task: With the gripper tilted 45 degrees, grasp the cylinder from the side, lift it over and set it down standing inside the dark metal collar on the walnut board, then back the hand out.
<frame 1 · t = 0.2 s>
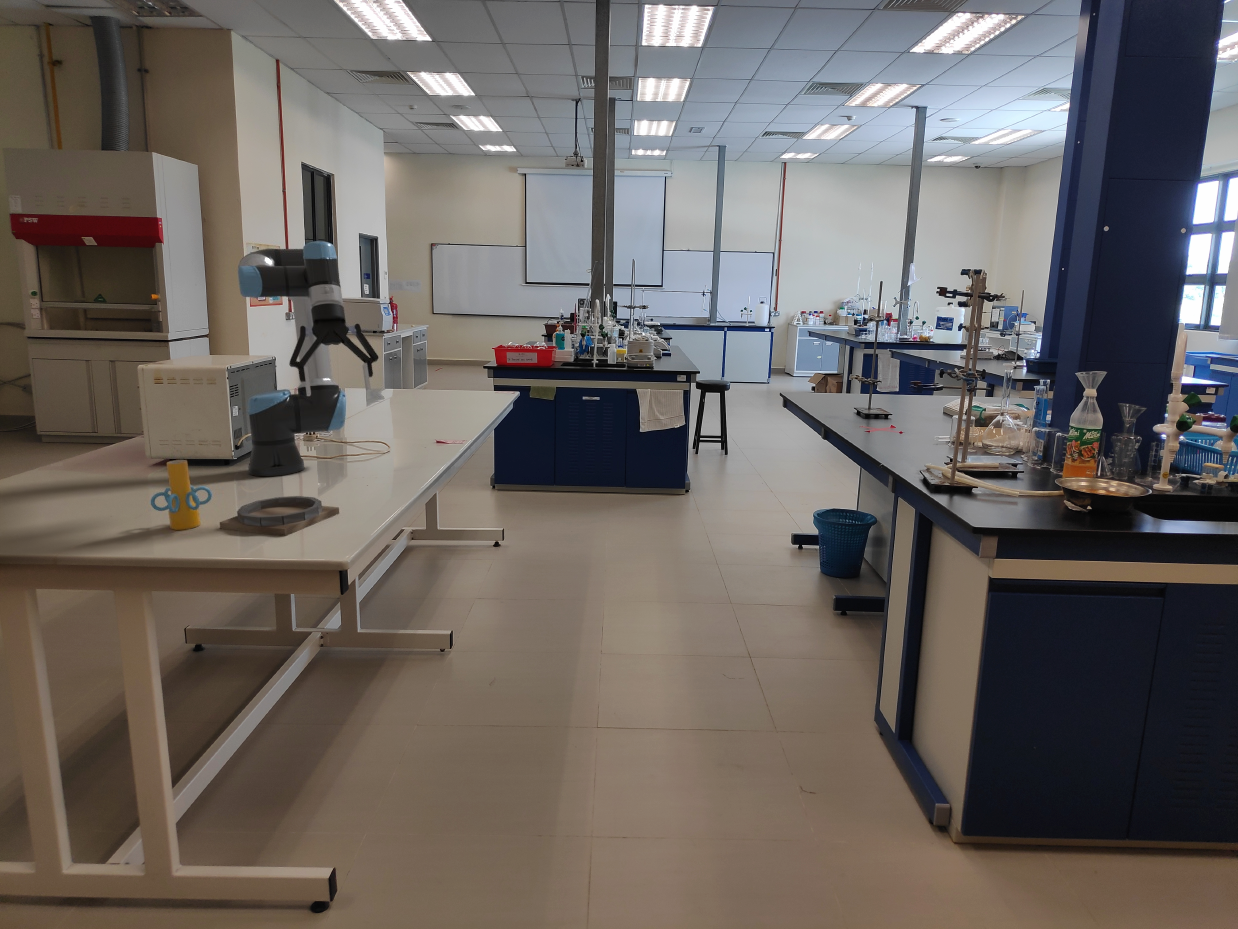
hand: (339, 392, 188), 28 cm above the table, tool tilted 20°, fingers open, 13 cm apart
cylinder: (185, 527, 178), on the table
hub board: (281, 520, 181), on the table
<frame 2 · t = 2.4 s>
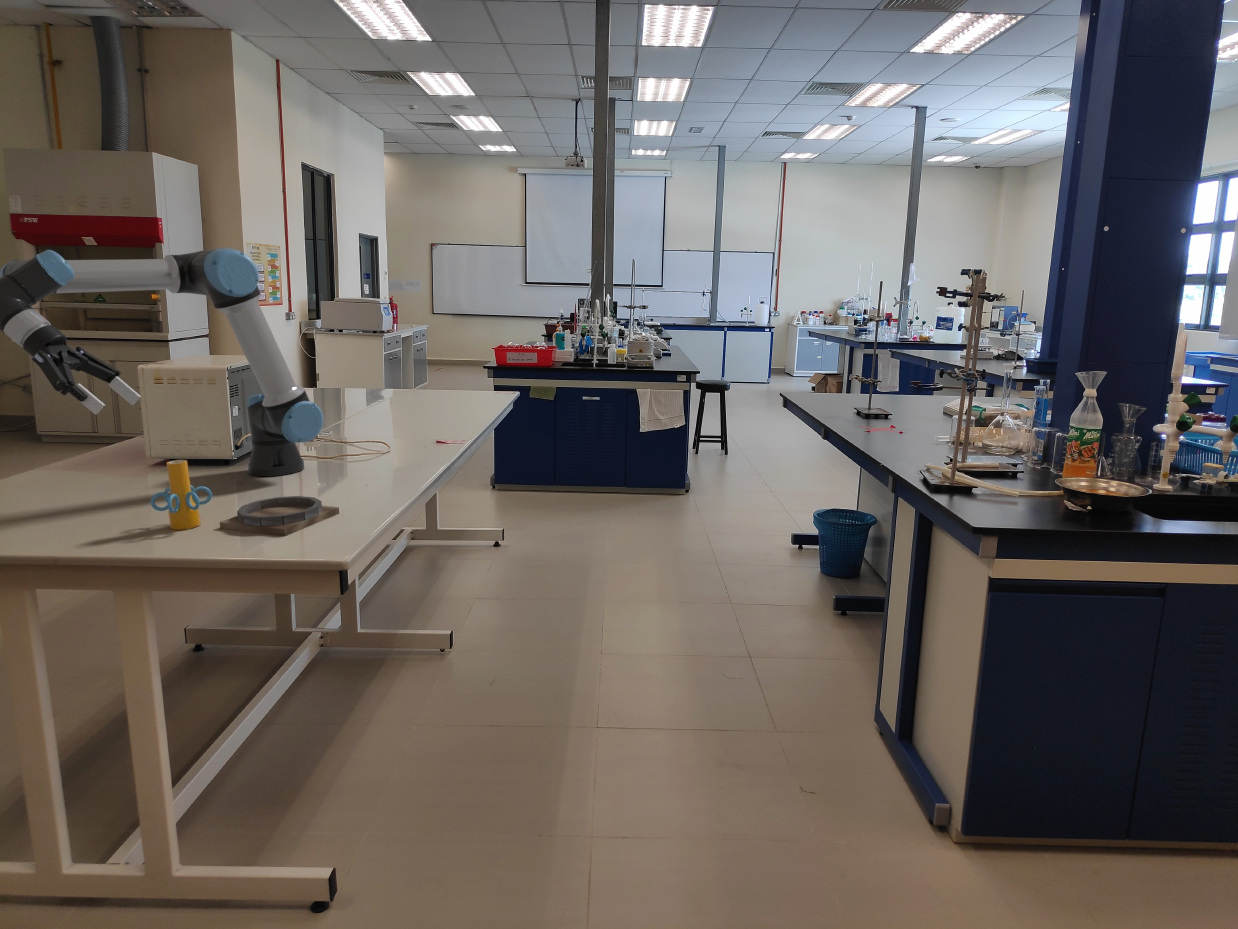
hand: (119, 405, 171), 28 cm above the table, tool tilted 45°, fingers open, 13 cm apart
nothing on the table moved.
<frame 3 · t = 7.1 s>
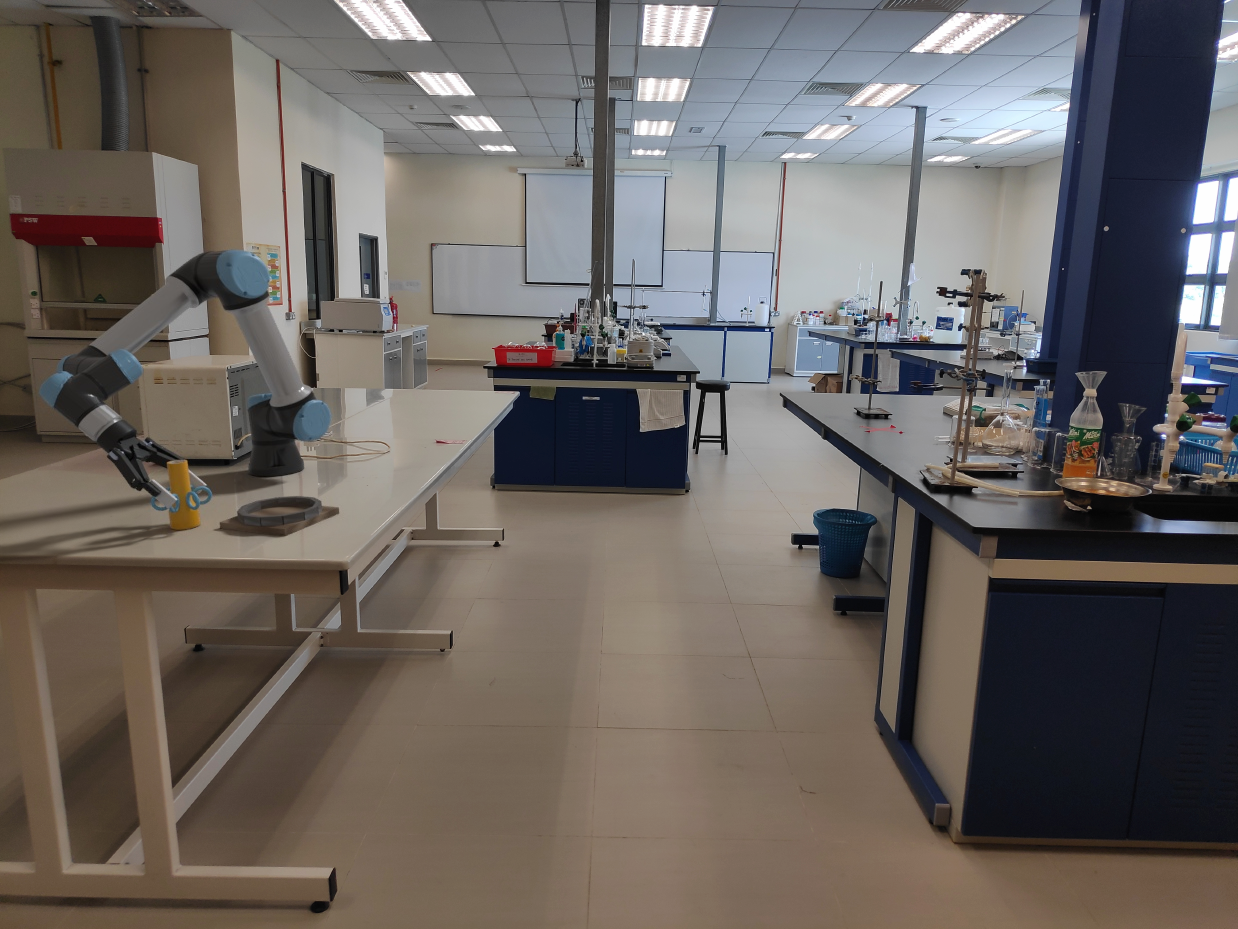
hand: (188, 496, 176), 7 cm above the table, tool tilted 45°, fingers closed on cylinder, 12 cm apart
cylinder: (185, 527, 178), on the table, touching gripper
when the fingers open (10 cm above the table, at t = 13.3 s): cylinder drops 1 cm, resting on hub board.
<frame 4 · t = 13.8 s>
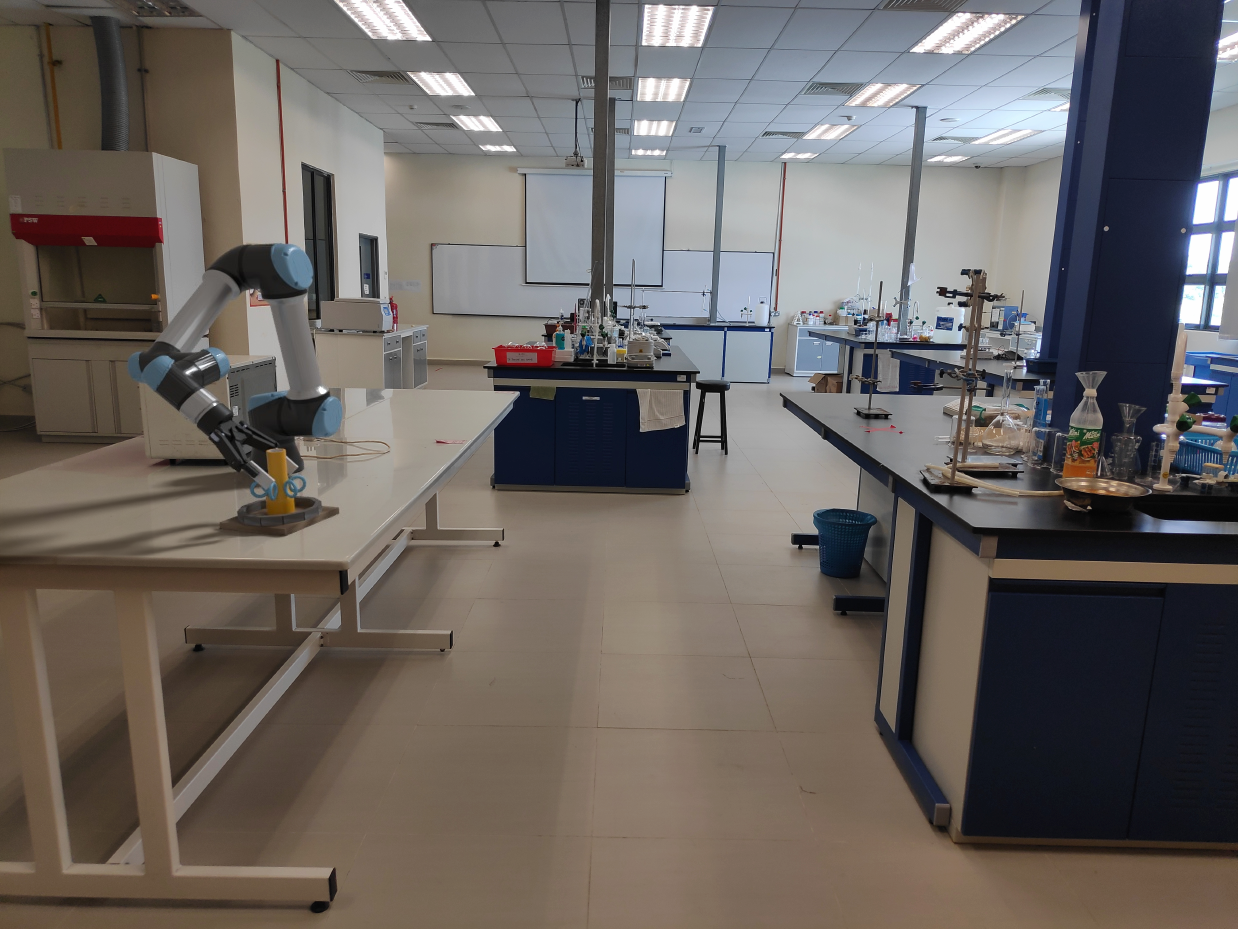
hand: (283, 477, 179), 10 cm above the table, tool tilted 45°, fingers open, 13 cm apart
cylinder: (281, 514, 181), point 1 cm above the table, touching hub board
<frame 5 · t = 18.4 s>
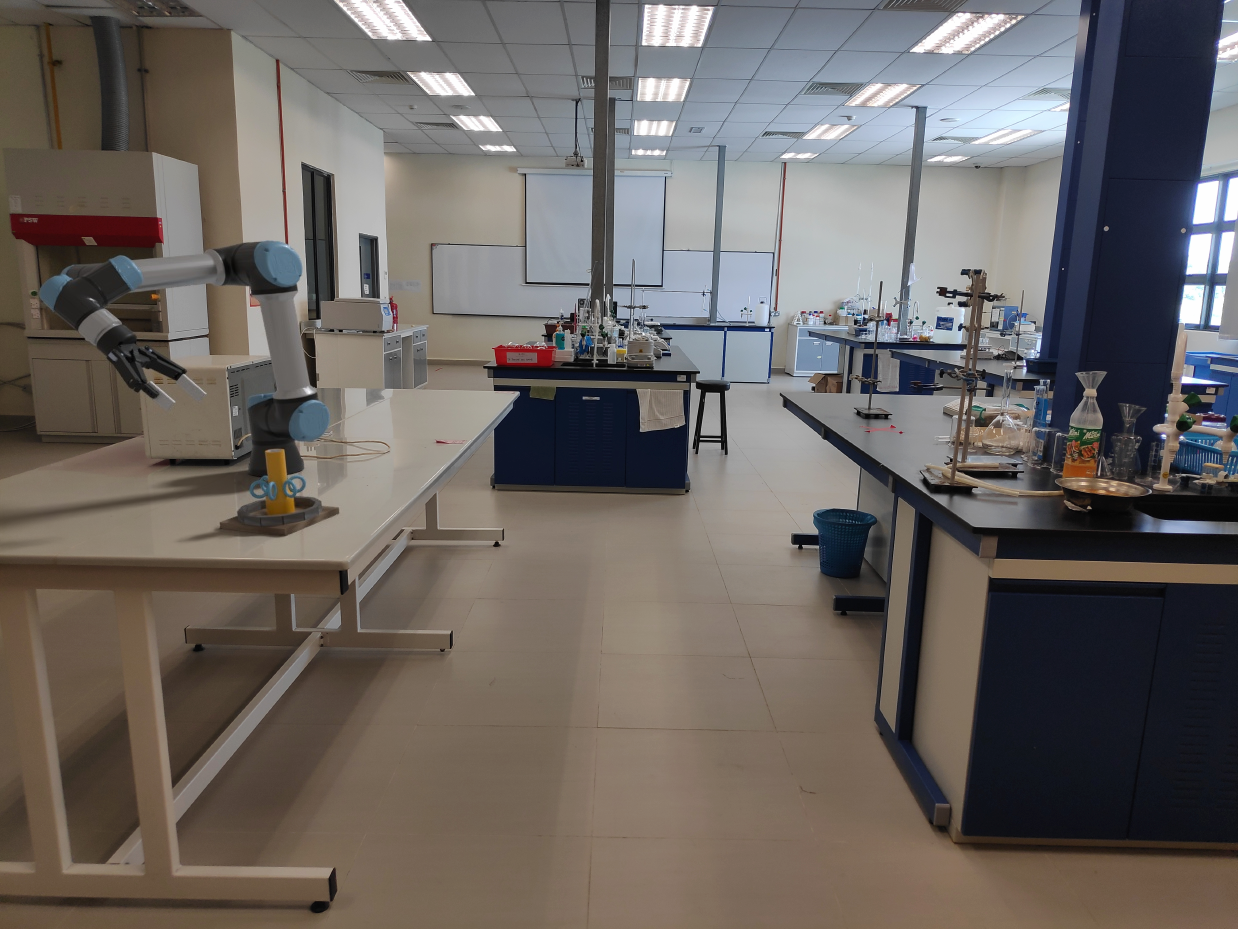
hand: (187, 402, 176), 28 cm above the table, tool tilted 45°, fingers open, 13 cm apart
nothing on the table moved.
at the end: cylinder 0.1 cm off-centre on the hub board, point 1.3 cm above the hub board's base; cylinder tilted 0°; the gripper is holding nothing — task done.
